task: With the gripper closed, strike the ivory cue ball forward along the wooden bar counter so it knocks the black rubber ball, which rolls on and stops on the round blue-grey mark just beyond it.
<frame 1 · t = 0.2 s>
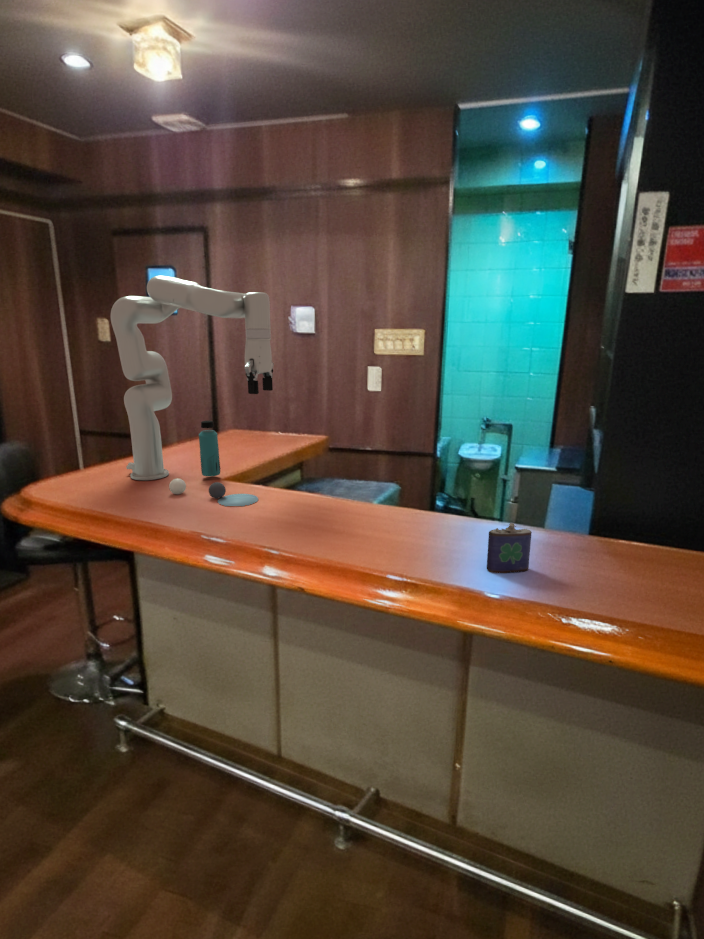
hand: (260, 392, 166), 31 cm above the table, tool pointing down, fingers open, 9 cm apart
beverage bottle: (211, 478, 185), on the table
cue ball: (177, 486, 167), on the table
flask: (507, 571, 115), on the table
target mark: (238, 500, 161), on the table
object ball: (217, 490, 163), on the table
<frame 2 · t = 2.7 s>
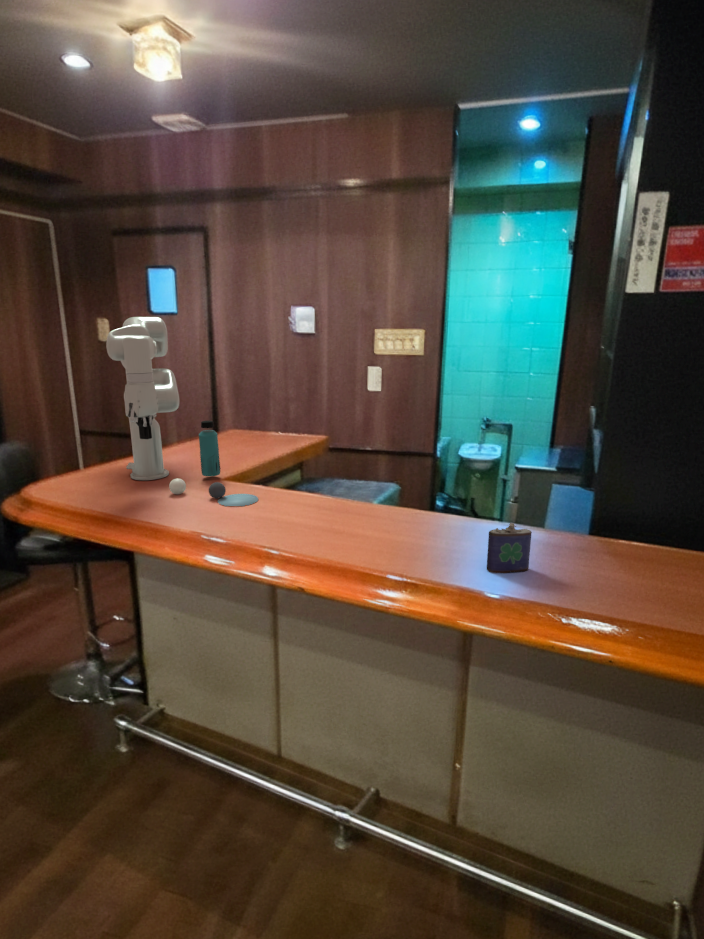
hand: (145, 438, 166), 17 cm above the table, tool pointing down, fingers closed
nothing on the table moved.
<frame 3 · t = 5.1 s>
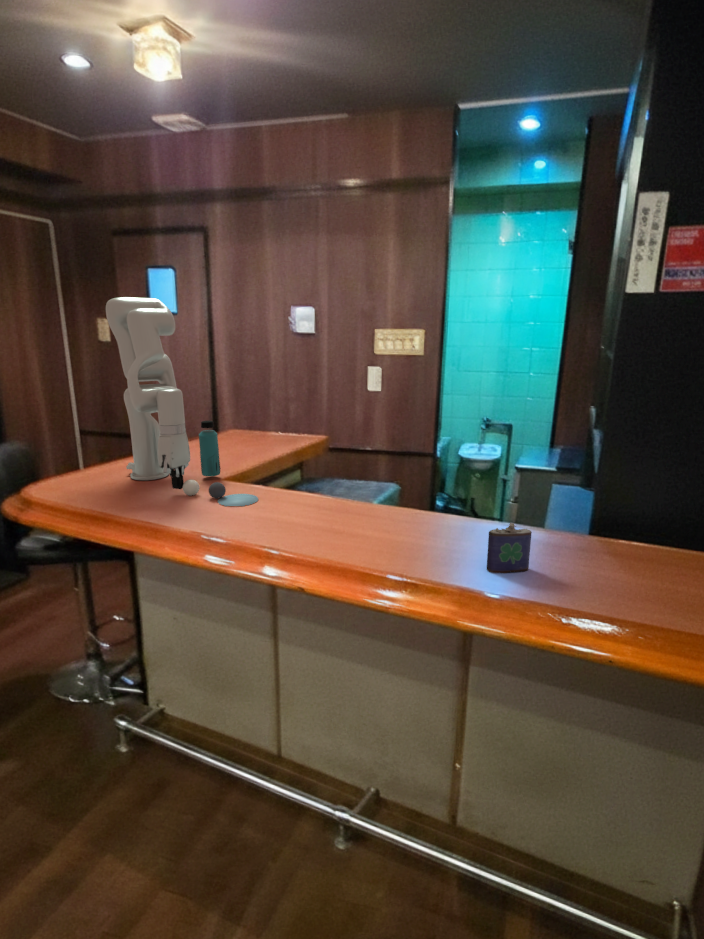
hand: (178, 488, 166), 2 cm above the table, tool pointing down, fingers closed
cue ball: (191, 487, 165), on the table
everything else where it was.
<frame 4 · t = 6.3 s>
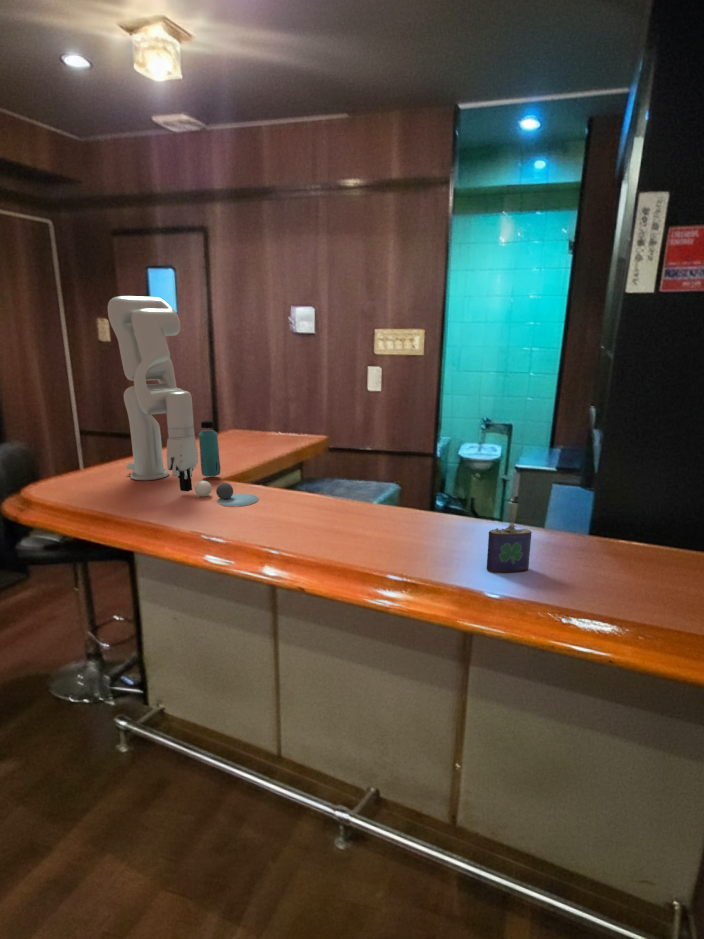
hand: (186, 490, 166), 2 cm above the table, tool pointing down, fingers closed
cue ball: (203, 488, 164), on the table
object ball: (224, 491, 162), on the table
everything else where it was.
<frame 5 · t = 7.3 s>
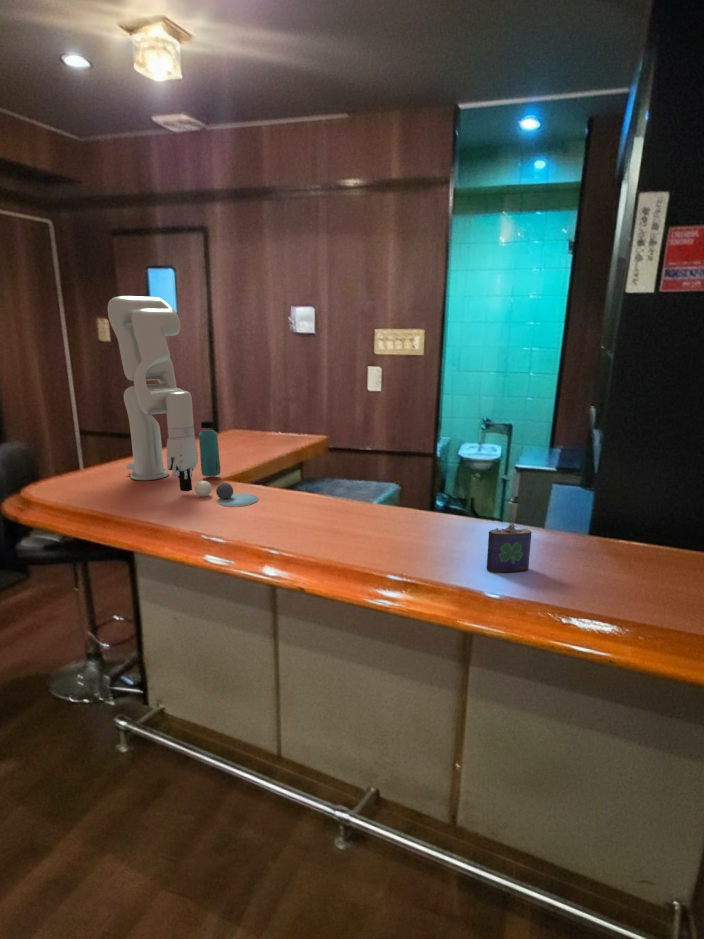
hand: (186, 490, 166), 2 cm above the table, tool pointing down, fingers closed
nothing on the table moved.
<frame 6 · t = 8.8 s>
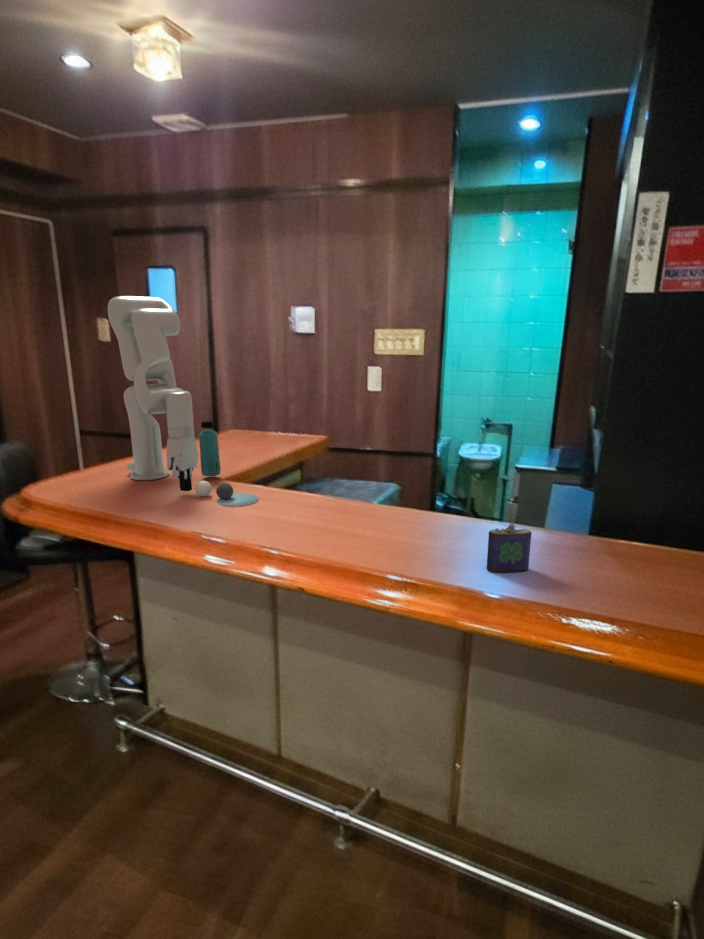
hand: (186, 490, 166), 2 cm above the table, tool pointing down, fingers closed
nothing on the table moved.
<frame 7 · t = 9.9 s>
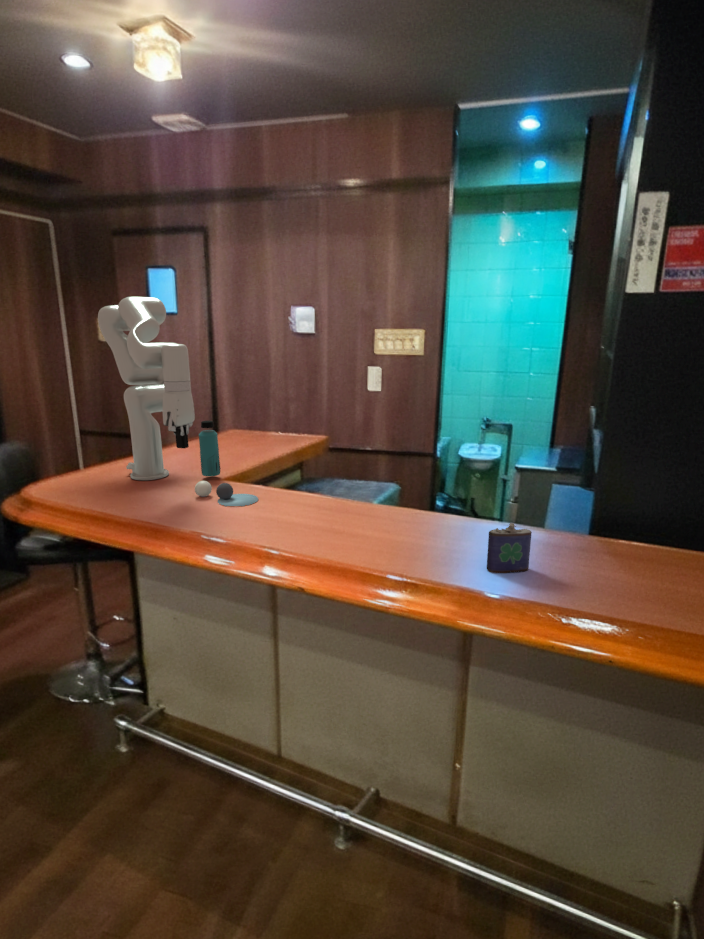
hand: (182, 447, 163), 15 cm above the table, tool pointing down, fingers closed
nothing on the table moved.
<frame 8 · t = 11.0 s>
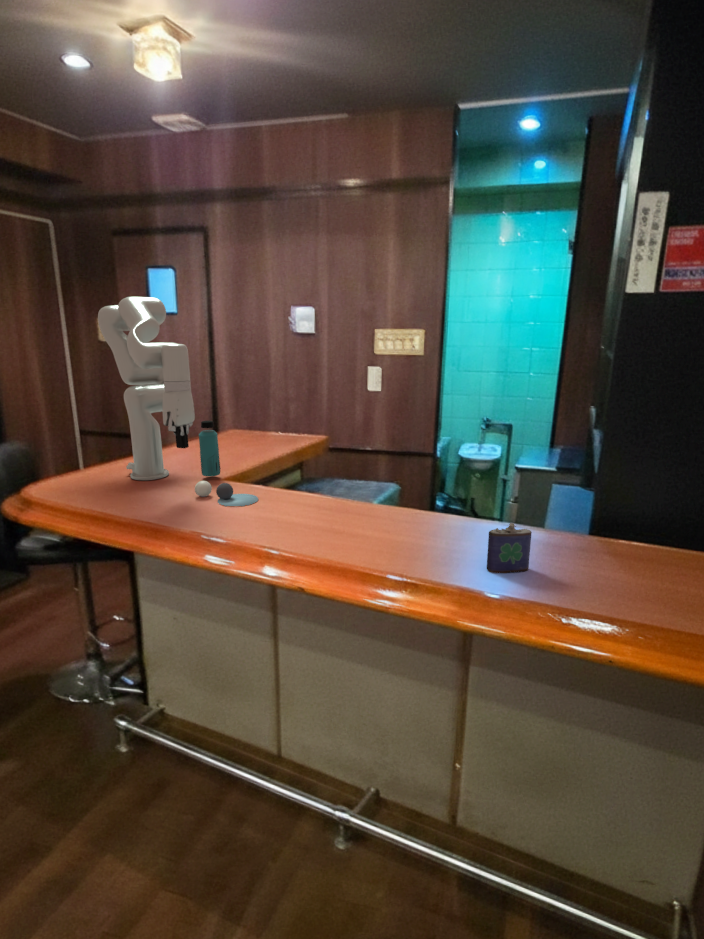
hand: (182, 447, 163), 15 cm above the table, tool pointing down, fingers closed
nothing on the table moved.
at the end: object ball 4.4 cm from the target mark (horizontally); object ball never touched the robot; cue ball first touched object ball at 5.4 s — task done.
